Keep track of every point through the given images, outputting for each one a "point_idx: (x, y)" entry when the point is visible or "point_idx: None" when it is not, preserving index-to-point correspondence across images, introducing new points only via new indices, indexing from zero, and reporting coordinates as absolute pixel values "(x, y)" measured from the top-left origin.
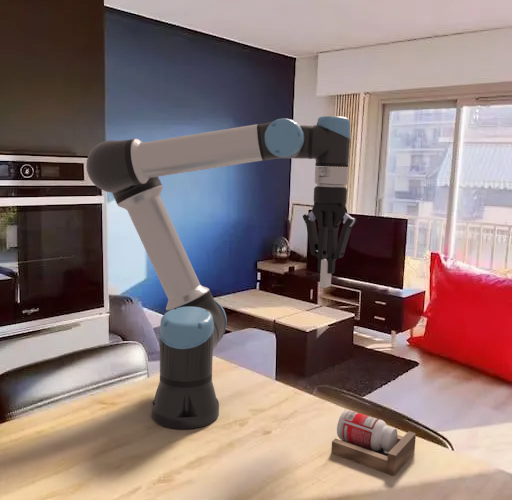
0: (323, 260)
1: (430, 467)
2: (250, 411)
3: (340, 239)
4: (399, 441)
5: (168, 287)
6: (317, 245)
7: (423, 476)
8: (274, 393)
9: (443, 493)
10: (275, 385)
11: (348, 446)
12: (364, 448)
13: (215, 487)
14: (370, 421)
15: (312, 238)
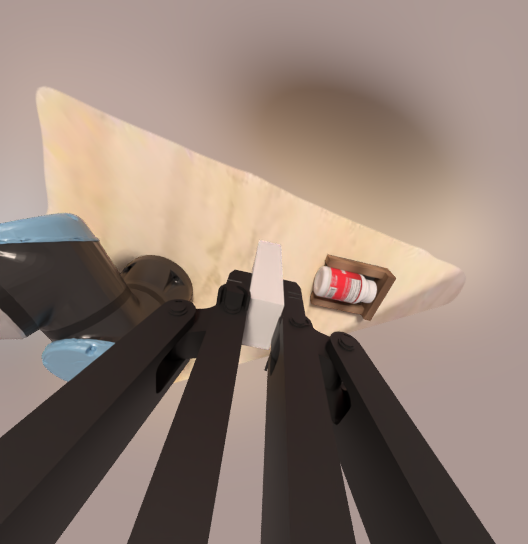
0: (250, 343)
1: (397, 287)
2: (210, 254)
3: (374, 518)
4: (376, 298)
5: None
6: (159, 353)
7: (388, 301)
8: (210, 195)
9: (400, 316)
10: (198, 165)
11: (327, 306)
12: (341, 304)
13: (245, 356)
14: (350, 299)
15: (116, 454)
